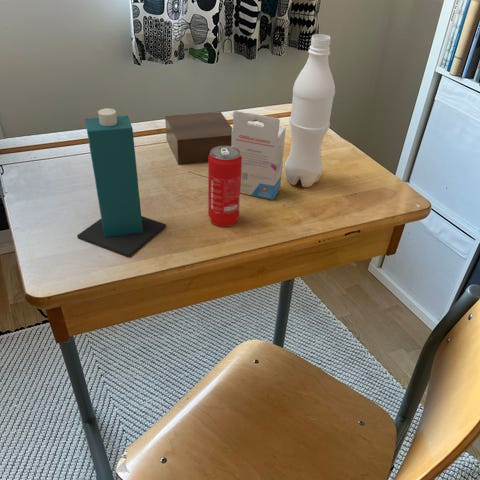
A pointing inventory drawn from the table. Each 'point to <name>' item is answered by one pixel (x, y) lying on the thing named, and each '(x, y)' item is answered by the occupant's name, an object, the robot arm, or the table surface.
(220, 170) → the beverage can
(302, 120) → the water bottle
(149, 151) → the table surface
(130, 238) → the coaster
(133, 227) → the teal tall block
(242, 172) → the ink box
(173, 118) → the walnut stand
